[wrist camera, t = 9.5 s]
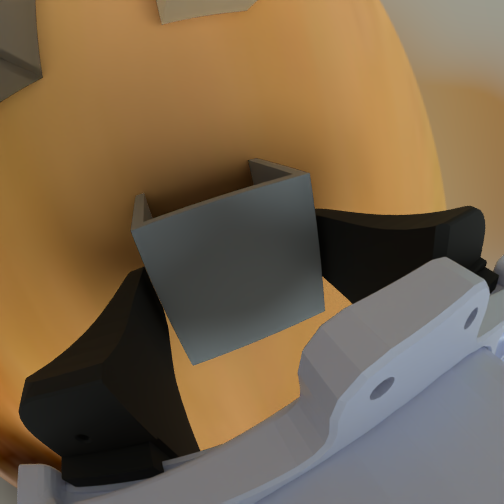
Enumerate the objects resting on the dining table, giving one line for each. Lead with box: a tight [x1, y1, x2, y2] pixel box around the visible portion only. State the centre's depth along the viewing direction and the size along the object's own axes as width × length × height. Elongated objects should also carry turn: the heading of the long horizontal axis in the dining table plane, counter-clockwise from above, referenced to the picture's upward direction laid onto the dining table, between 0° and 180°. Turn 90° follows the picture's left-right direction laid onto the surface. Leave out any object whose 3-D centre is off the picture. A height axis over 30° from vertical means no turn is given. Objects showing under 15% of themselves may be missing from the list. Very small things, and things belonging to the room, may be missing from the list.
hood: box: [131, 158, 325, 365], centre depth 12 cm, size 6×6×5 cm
